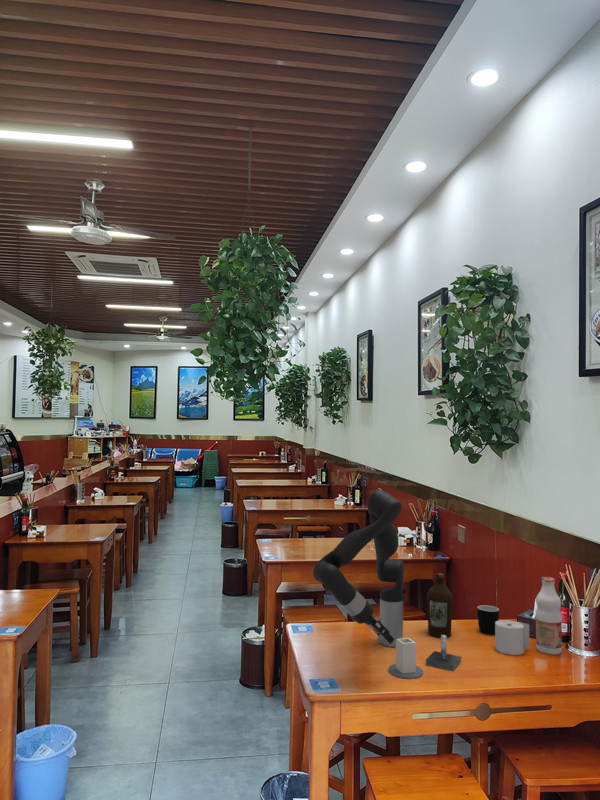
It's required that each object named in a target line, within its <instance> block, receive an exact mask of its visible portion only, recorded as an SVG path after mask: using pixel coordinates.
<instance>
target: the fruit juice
mask: <svg viewBox="0 0 600 800" xmlns="http://www.w3.org/2000/svg"><path fill="white" fill-rule="evenodd" d="M555 583H556V579H555V578H553V577H550V576H542V577H541V584H542V585H541V588H540V591H539V592H538V594H537V595H536V598H535V602H536V605H537V608H536V610H535V646H536V647H535V648H536V650H538V652H539V653H540V652H541V653H543V654H547V655H560V654H562V652H563V629H562V628H563V624H562V623H563V622H562V621H563V619H562V617H563V616H562V612H561V606H562V600H561V598H560V596H559V595H558V593H557V591H556V589H555V588H556V587H555Z"/></svg>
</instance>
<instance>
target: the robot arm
mask: <svg viewBox="0 0 600 800" xmlns="http://www.w3.org/2000/svg"><path fill="white" fill-rule="evenodd" d="M402 509H403V505H402V502H401V501H400V500H398V499H397V498H396V497H394V496H392V495H391V494H389V493H388V492H386V491H385V490H382V489H376V490H374V491H373V492H371V493H370V495H369V498H368V500H367V512H368V515H369V517H370V518H369V519H370V522H371V524H370V525H368V526H366V527H363V528H361V529H357V530H354V531H351V532H350V533H349V534H347V535H345V537H343V538H342V540H341V541H340V542H339V543H338V544H337V546H335V547H334V548H333V550H332V551H330V552H328V553H326V555H324V556H323V557H322V558H320V560H318V562H317V563H316V564H315V565H314V567H313V571H312V575H313V578H314V579H315V580H316V581H317V582H318V583H321V584H322V585H324V586H325V587H326V588H327V589H328V590H329V591H330V592H331V594H332V596H333V597H334V599H335V600H336V601H337V602H338V603H339V604H340V605H341V607H342V608H343V609H344V610H345V611H346V613H347V614H348V615H349V616H350V617H351V618H352V619H353V620H354V621H355V622H356V623H357V624H359V625H361V624H364V625H366V627H368V628H369V629H371V630H372V632H374V633H375V634H376V635H377V643H378V644H380V645H382V646H385V647H389V648H391V647H392V648H396V639H402V638H404V578H405V563H404V561H403V560H402V559H400V558H391V557H392V556H394V554H395V553H396V552H397V550H398V547H399V535H398V531H397V529H396V527H395V525H394V522H395V521H396V520H397V519H398V518H399V516H400V515H401V512H402ZM371 541H373V543H374V549H375V556H376V557H375V558H376V559H375V560H376V562H375V563H376V575H377V579H378V580H379V581H380V582H384V583H386V582H387V583H394V585H393V586H391V587H389V588H384V589H382V590H381V591H380V592H379V593H380V594H379V617H377V616H375V615H374V614H373V613H374V607H373V605H372V604H371V603H370V602H369V601H368V600H367V599H366V598H365V597H364V596H363V595H362V594H361V593H360V592H359V591H358V590H357V589H356V588H354V586H353V585H352V584H351V583H350V582H349V581H348V580H347V578H346V577H345V575H344V574H343V573H342V571H341V570H340V568H341V567H345V566H348V565H349V564H350V563H351V562H352V561H353V560H354V559H355V558H356V557H357V555H358V554H359V553H360V552H361V551H362V550H363V549H364V547H366V546H367V545H368V544H369V543H370V542H371Z"/></svg>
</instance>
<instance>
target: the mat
mask: <svg viewBox="0 0 600 800" xmlns="http://www.w3.org/2000/svg"><path fill="white" fill-rule="evenodd" d="M388 673H389V674H390V675H392V676H394V677H396V678H400V679H406V680H413V679H412V678H415V679H419V678H421V677H423V676H422V675H424V670H423V669H422V668H421V667H420V666H418V665H416V672H412V673H404V674H403V673H402V672H400V671H399V670H398V669H396V663H394V664H391V665H389V666H388ZM418 677H419V678H418Z"/></svg>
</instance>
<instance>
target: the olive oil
mask: <svg viewBox="0 0 600 800" xmlns="http://www.w3.org/2000/svg"><path fill="white" fill-rule="evenodd" d="M453 600H454V599H453V594H452V592H451V590H450V589H449V588H448V586H447V585H446V584H445V578H444V573H440V572H439V573H438V572H437V573H435V583H434V584H433V585H432V586H431V587H430V588H429V589H428V591H427V595H426V606H427V633H428V635H430V636H432V637H434V638H440V639H441V635H446V636H447V638H450V637H451V636H452V620H453V619H452V618H453V616H452V615H453Z"/></svg>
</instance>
